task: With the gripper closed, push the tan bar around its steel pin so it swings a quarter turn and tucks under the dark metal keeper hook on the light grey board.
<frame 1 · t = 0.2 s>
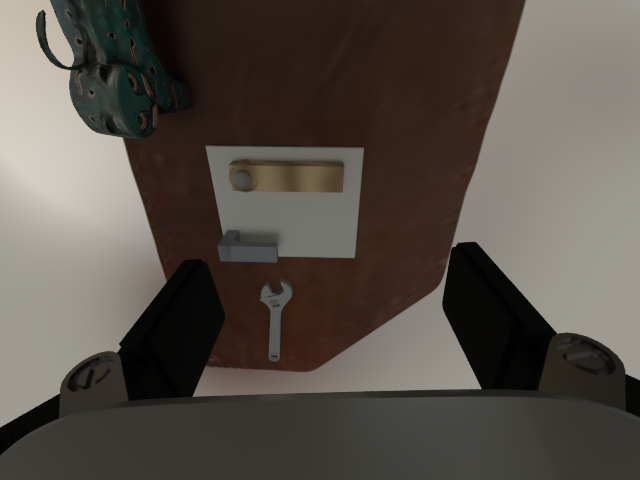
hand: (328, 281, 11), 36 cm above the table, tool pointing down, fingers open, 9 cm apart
adjustable wrench: (273, 318, 63), on the table
tan bar: (286, 177, 43), point 3 cm above the table, hinge at 90.0°
mounting board: (288, 205, 48), on the table
ceramic cat: (164, 36, 37), on the table
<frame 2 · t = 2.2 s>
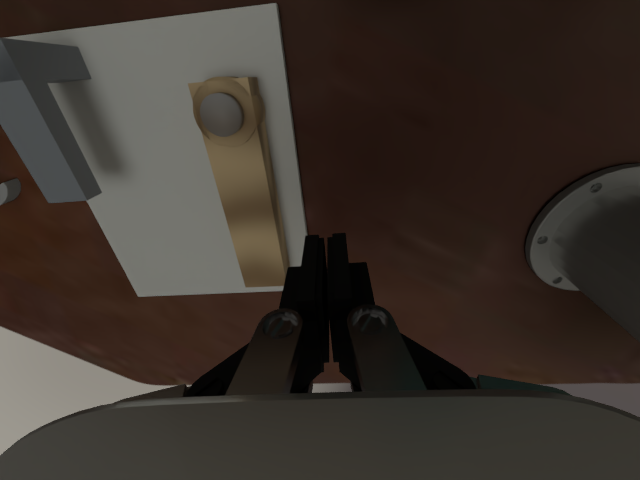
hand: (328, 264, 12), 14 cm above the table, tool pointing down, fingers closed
tan bar: (248, 198, 23), point 3 cm above the table, hinge at 90.0°
mounting board: (192, 186, 26), on the table
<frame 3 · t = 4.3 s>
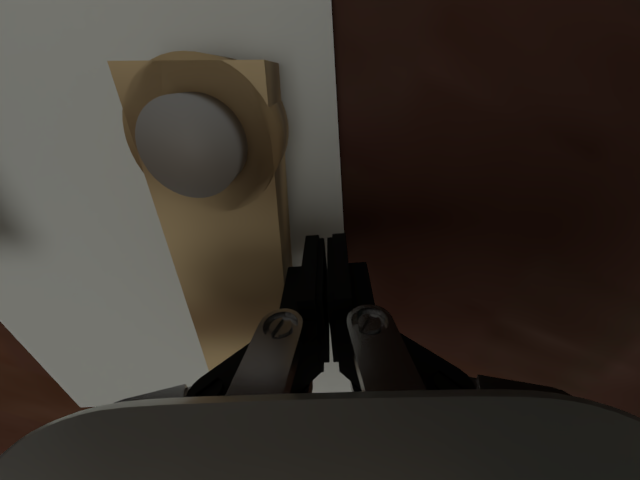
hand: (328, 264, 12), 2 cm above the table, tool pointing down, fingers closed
tan bar: (241, 294, 12), point 3 cm above the table, hinge at 85.0°, touching gripper
mounting board: (152, 256, 15), on the table
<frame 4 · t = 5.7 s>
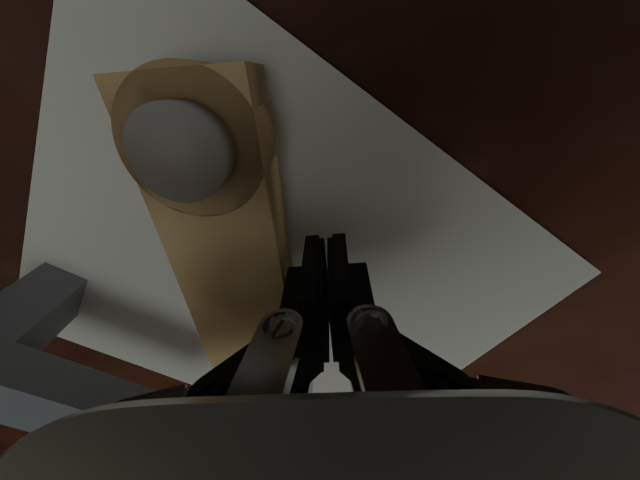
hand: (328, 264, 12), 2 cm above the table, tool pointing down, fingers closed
tan bar: (243, 298, 12), point 3 cm above the table, hinge at 36.8°, touching gripper
mounting board: (285, 288, 15), on the table
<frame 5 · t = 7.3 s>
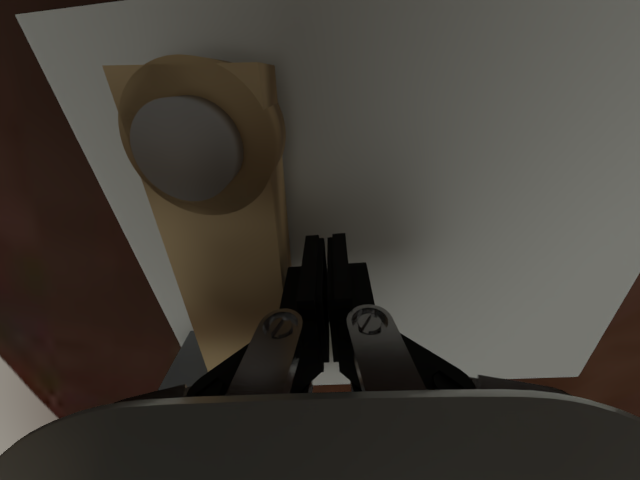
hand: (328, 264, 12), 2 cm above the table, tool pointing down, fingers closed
tan bar: (240, 297, 12), point 3 cm above the table, hinge at -4.2°, touching gripper, mounting board
mounting board: (382, 244, 14), on the table
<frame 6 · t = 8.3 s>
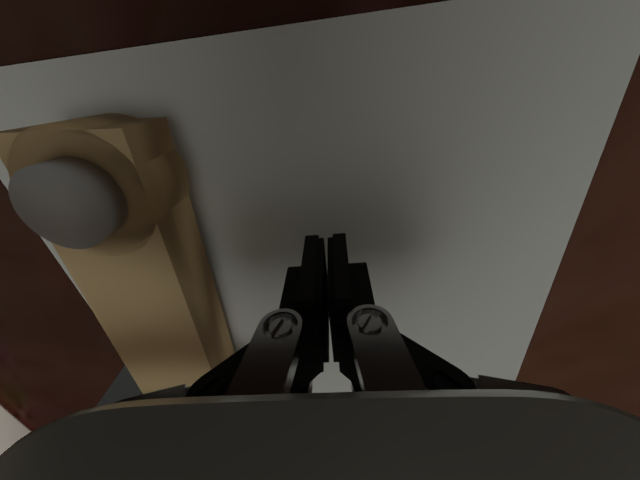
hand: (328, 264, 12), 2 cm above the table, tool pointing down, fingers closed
tan bar: (162, 323, 13), point 3 cm above the table, hinge at -4.2°
mounting board: (306, 267, 15), on the table
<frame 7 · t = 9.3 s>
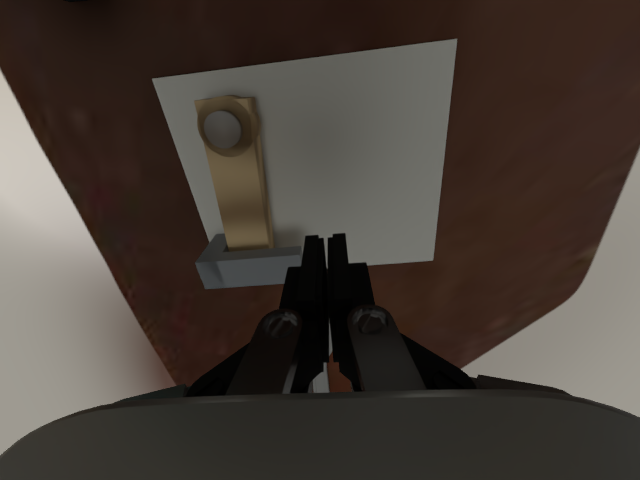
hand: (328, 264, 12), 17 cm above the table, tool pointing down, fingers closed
adjustable wrench: (315, 371, 43), on the table
tan bar: (242, 201, 26), point 3 cm above the table, hinge at -4.2°
mounting board: (313, 180, 28), on the table
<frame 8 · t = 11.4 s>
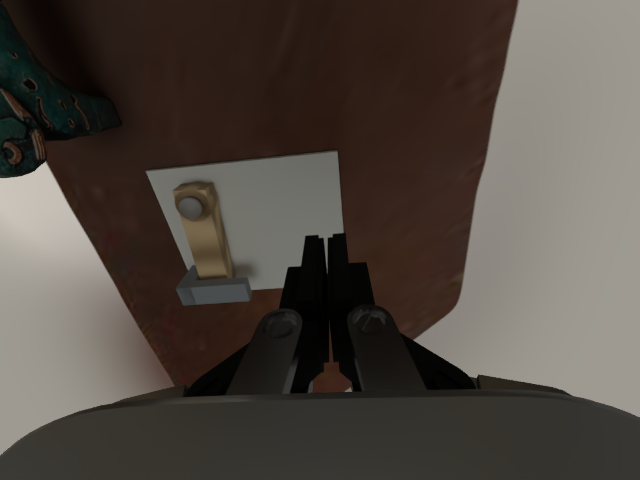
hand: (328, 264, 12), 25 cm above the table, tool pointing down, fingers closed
tan bar: (207, 247, 38), point 3 cm above the table, hinge at -4.2°
mounting board: (258, 230, 40), on the table
ceramic cat: (69, 43, 29), on the table
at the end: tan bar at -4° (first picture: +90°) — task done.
